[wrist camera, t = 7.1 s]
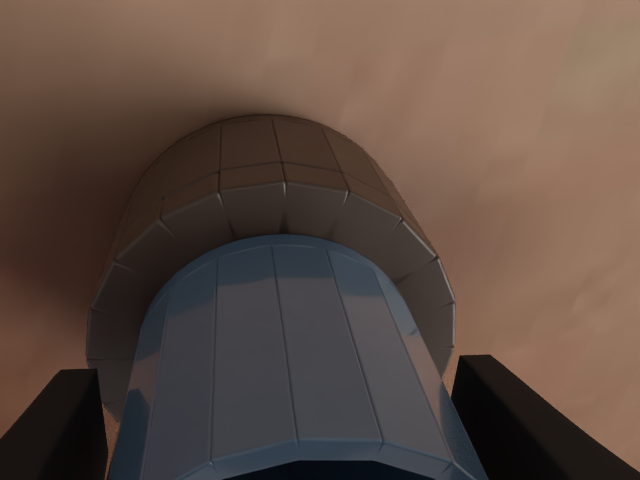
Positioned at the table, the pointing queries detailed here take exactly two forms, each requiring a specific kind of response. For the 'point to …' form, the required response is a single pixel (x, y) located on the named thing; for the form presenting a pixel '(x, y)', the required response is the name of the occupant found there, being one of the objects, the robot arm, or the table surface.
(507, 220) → the table surface
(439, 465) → the cup
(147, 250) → the brown short cylinder
